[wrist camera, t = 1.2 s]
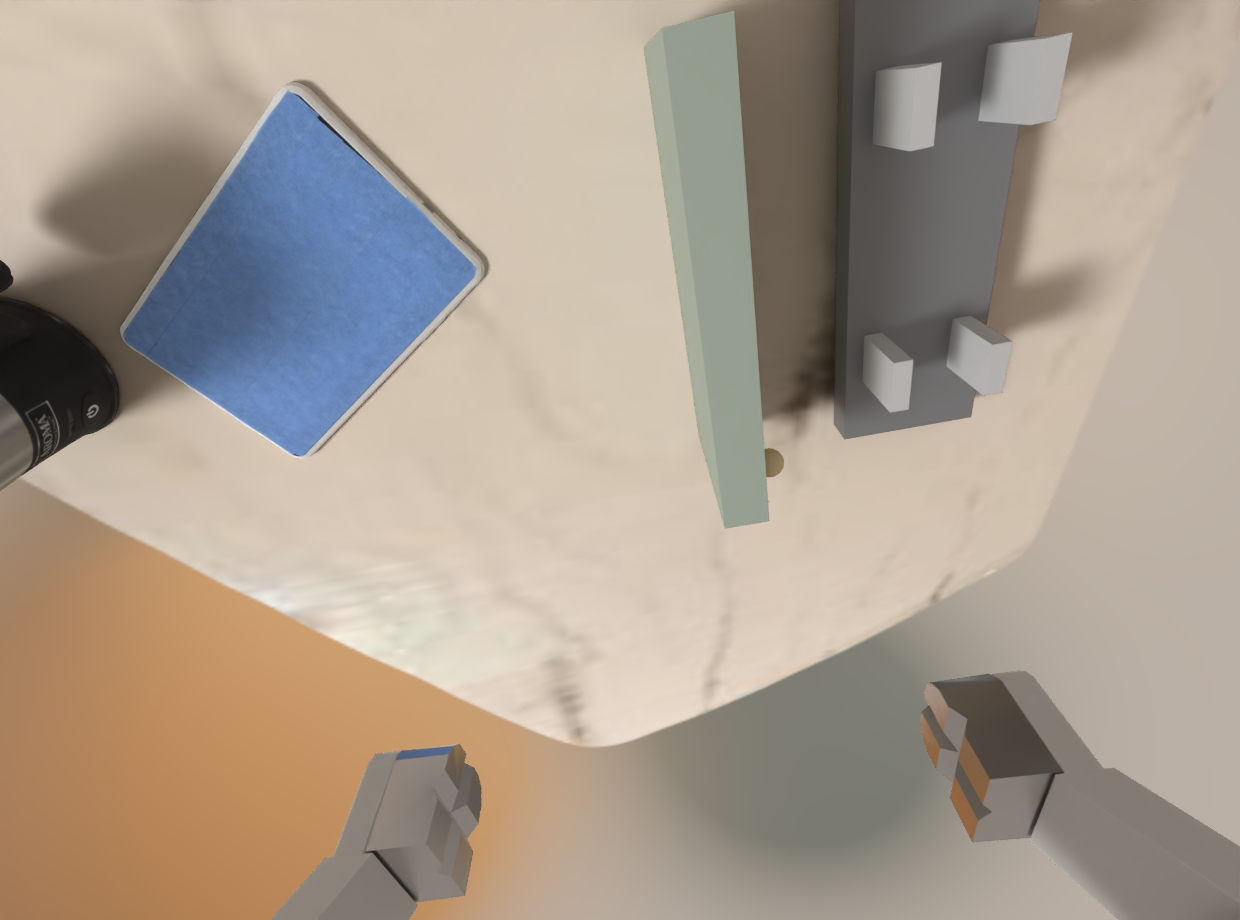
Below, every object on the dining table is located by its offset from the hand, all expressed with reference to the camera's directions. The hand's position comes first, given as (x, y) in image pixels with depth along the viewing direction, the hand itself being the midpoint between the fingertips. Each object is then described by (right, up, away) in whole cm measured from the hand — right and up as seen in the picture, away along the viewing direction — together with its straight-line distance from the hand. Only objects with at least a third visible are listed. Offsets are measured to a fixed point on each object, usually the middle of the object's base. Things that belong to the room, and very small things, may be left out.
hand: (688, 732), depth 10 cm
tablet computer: (-20, +15, +24) cm, 34 cm away
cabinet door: (+3, +16, +23) cm, 28 cm away
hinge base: (+15, +18, +22) cm, 32 cm away
